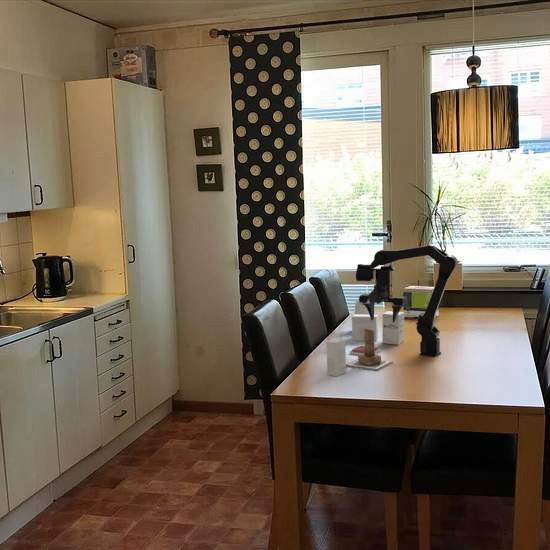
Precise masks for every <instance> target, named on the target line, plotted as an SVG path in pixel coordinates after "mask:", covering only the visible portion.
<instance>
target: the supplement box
mask: <svg viewBox="0 0 550 550" xmlns="http://www.w3.org/2000/svg"><path fill="white" fill-rule="evenodd" d="M381 338H382V344H389V345H398V346H399V345H401V344H402V343H403V341H405V317H404V311H399V313H398V316H397V318H396V321H395V322H394V323H393V310H391V311H390V310H386V311H385V312H383V313H382V335H381Z"/></svg>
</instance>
